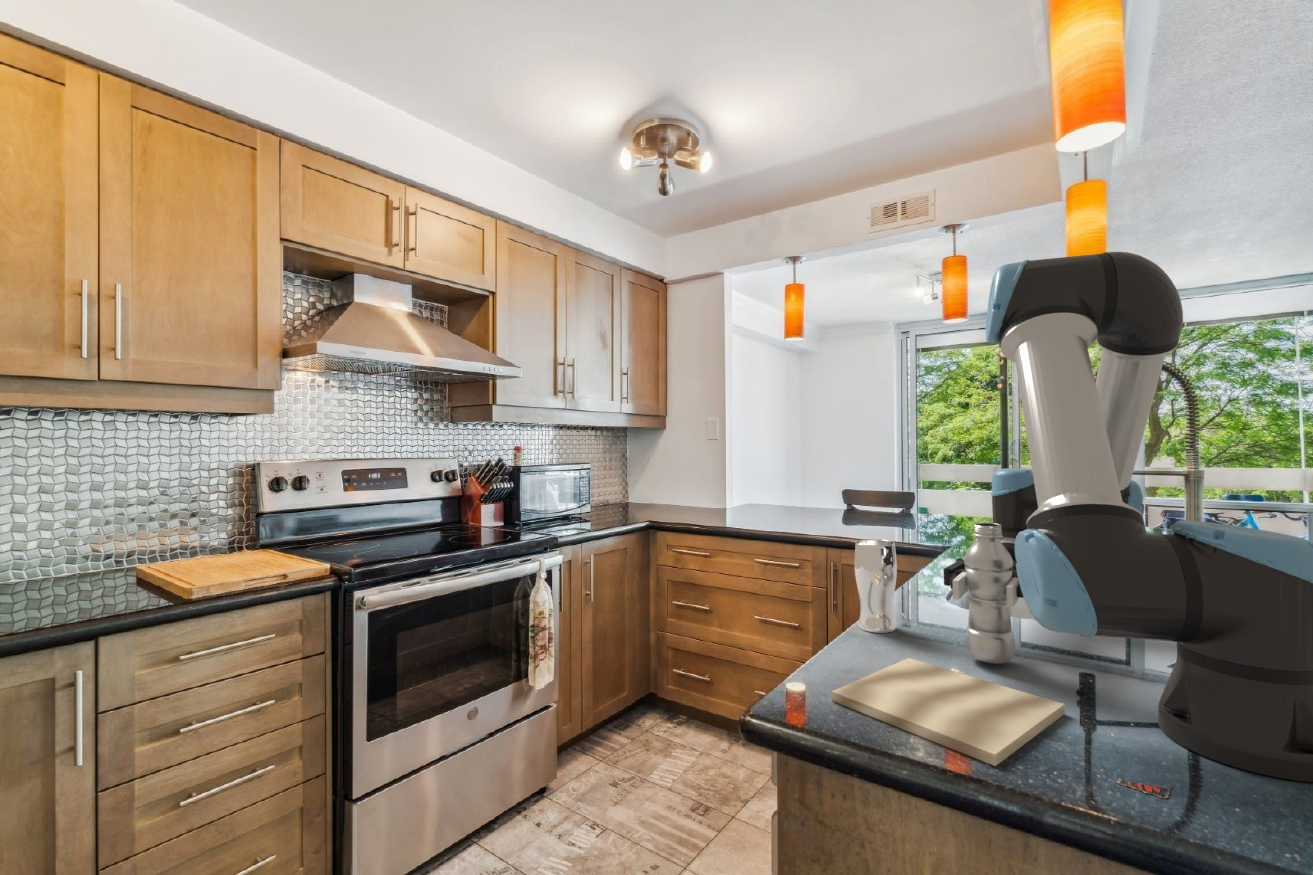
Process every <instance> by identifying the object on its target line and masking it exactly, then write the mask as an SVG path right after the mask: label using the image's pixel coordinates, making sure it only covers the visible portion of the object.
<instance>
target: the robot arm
mask: <svg viewBox="0 0 1313 875" xmlns="http://www.w3.org/2000/svg"><path fill="white" fill-rule="evenodd" d="M1176 287H1177V286H1175V284H1174V282H1173V281H1172V279H1171V278H1170V277H1169V275H1168V273H1167V272H1165V270H1164V269H1162V267H1160V266H1159V265H1158V264H1156V263H1155V262H1153V261H1152V260H1150V259H1148V258H1146V257H1144V256H1142V255H1140V254H1135V253H1131V252H1128V251H1127V252H1126V251H1107V252H1106V251H1105V252H1102V253H1096V254H1095V253H1093V254H1082V255H1075V256H1073V255H1072V256H1064V257H1062V256H1061V257H1053V258H1043V259H1033V260H1029V259H1024V260H1023V261H1017V262H1011V263H1006V264H1003V265H1001V266H999V267H998V268H997V269H996V270H995V272H994V273H993V275H992V280H991V284H990V289H989V296H988V303H987V311H986V321H985V322H986V323H985V339H986V342H987V343H989V344H993V345H998V344H1000V350H1001V353H1002V355H1003V356H1004V357H1005V358H1006V360H1009V361H1010V362H1012V363H1015V367H1016V376H1017V381H1018V388H1019V393H1020V400H1021V406H1022V407H1021V408H1022V413H1023V419H1024V425H1025V426H1024V427H1025V431H1026V432H1025V433H1026V439H1027V440H1026V441H1027V444H1028V445H1027V446H1028V452H1029V458H1030V459H1029V460H1030V463H1031V464H1030V465H1031V468H1020V467H1019V468H1015V467H1014V468H1010V467H1009V468H998V469H996V470H995V471H994V472H993V474H992V481H991V482H992V483H991V506H992V507H991V508H992V523H994V524H1000V525H1001V529H1002V538H1000V541H1001V543H1002V544H1003V545H1004V547H1005V548H1006V549H1007V551H1008V552H1009V554H1010V555H1011V557H1012V560H1013V569H1012V578H1011V581H1010V583H1009V584H1008V585H1007V587H1006V590H1007V606H1008V607H1011V608H1013V607H1014V606H1016V603H1017V601H1019V599H1020V598H1022V599H1024V603H1025V604H1026V606H1027V608H1028V611H1029V612H1030V614H1031V615H1032V616H1033V618H1034V620H1035V621H1036V622H1037V623H1038V624H1039V625H1041V627H1043V628H1045V629H1046V630H1048V631H1052V632H1057V633H1064V634H1066V633H1067V634H1073V635H1074V634H1075V635H1079V636H1081V637H1085V638H1093V637H1094V636H1095V637H1104V638H1105V637H1107V638H1121V639H1132V640H1133V639H1135V640H1148V641H1161V642H1162V641H1163V642H1170V643H1171V642H1174V643H1176V661H1175V663H1174V665H1173V668H1172V670H1171V673H1170V675H1169V677H1168V680H1167V682H1166V683H1165V686H1164V689H1163V691H1162V694H1161V696H1160V699H1159V701H1158V705H1157V712H1158V714H1157V715H1158V719H1157V720H1158V721H1157V722H1158V727H1159V728H1160V730H1161V731H1162V732H1163V733H1164V734H1165V735H1166V736H1168V738H1170V739H1171V740H1173V741H1174V742H1176V743H1177V744H1179V745H1181V746H1182V747H1184V748H1186V749H1188V750H1190V751H1192V752H1194V753H1197V754H1198V755H1200V756H1203V757H1205V758H1208V759H1211V760H1213V761H1217V762H1219V763H1222V764H1225V765H1228V766H1231V767H1233V768H1238V769H1240V770H1244V771H1247V772H1252V773H1255V774H1260V775H1264V776H1269V777H1273V778H1278V779H1285V780H1291V781H1297V782H1298V781H1299V782H1305V783H1306V782H1308V783H1313V542H1312V541H1310V540H1309V539H1305V538H1302V537H1298V536H1295V535H1291V534H1285V533H1280V532H1275V531H1269V530H1263V529H1259V528H1258V529H1257V528H1252V527H1245V526H1239V525H1230V524H1223V523H1216V522H1209V521H1200V520H1183V519H1182V520H1181V519H1180V520H1177V521H1175V523H1174V524H1173V527H1172V528H1171V532H1172V534H1170V533H1169V534H1168V533H1165V534H1164V533H1149V532H1148V531H1147V528H1146V524H1145V521H1144V516H1143V514H1142V513H1143V509H1144V508H1143V502H1144V496H1143V492H1142V488H1141V486H1140V485H1139V484H1138V482H1137V481H1135V480H1133V479H1132V478H1133V477H1132V476H1133V473H1134V470H1135V465H1136V462H1137V459H1138V457H1139V456H1138V455H1139V451H1140V448H1141V444H1142V441H1143V438H1144V433H1145V430H1146V426H1147V422H1148V420H1149V415H1150V412H1151V409H1152V405H1153V402H1154V398H1155V394H1156V390H1157V387H1158V383H1159V379H1160V376H1161V372H1162V368H1163V366H1164V365H1163V364H1164V361H1165V358H1166V355H1168V354H1169V353H1172V352H1174V351H1175V350H1176V349H1177V347H1178V345H1179V341H1180V338H1181V334H1182V331H1183V325H1184V310H1183V304H1182V300H1181V297H1180V294H1179V291H1178V289H1177V288H1176ZM1095 342H1096V345H1098V347H1099V348H1100V349H1102V351H1101V355H1100V359H1099V365H1098V369H1097V374H1096V379H1095V375H1094V370H1093V367H1092V363H1091V358H1090V353H1089V350H1088V349H1089V348H1091V346H1092V345H1093V344H1094V343H1095ZM965 567H966V566H965V562H964V558H963V559H962V558H956V559H955V562H953V563H952V564H950V565H948V566H946V567H945V568H943V585H944V586H946V587H950V589H952V600H957V601H959V600H960V599H961V598H962V597H964V595H965V594H966V593H967V592H969V590H968V581H967V575H966V569H965Z"/></svg>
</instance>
